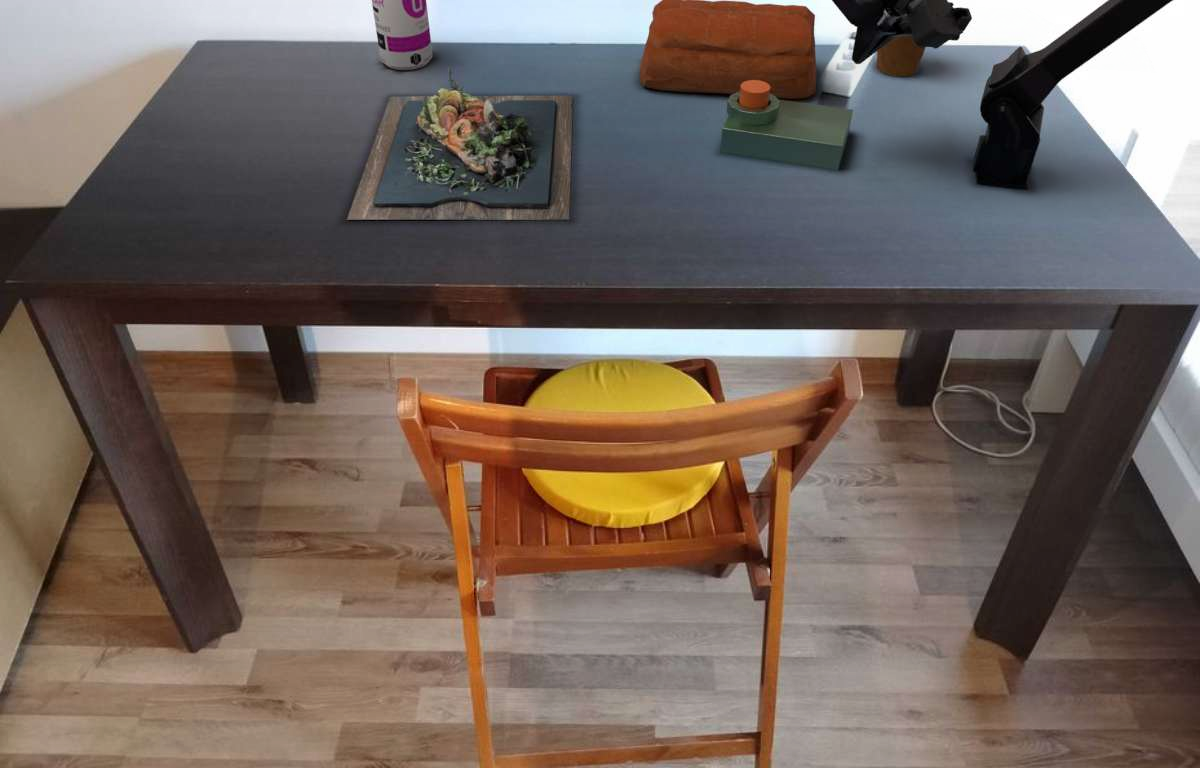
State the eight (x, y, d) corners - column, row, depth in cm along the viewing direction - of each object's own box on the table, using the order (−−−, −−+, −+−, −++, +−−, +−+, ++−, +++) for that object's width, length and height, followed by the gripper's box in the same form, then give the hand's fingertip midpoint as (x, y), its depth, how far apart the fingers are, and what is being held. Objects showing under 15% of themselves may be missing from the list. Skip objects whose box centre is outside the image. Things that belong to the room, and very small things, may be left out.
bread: (815, 105, 144) (826, 34, 137) (635, 93, 147) (637, 23, 140) (814, 62, 156) (824, -5, 149) (647, 52, 159) (649, -15, 152)
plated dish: (385, 96, 147) (379, 49, 142) (573, 97, 147) (572, 50, 142) (346, 225, 121) (336, 172, 116) (574, 225, 121) (574, 173, 117)
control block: (848, 133, 138) (855, 97, 134) (838, 171, 130) (844, 133, 126) (733, 117, 142) (737, 81, 138) (716, 152, 134) (720, 115, 130)
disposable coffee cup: (855, 60, 156) (868, -17, 148) (907, 53, 159) (924, -23, 151) (885, 84, 150) (901, 6, 142) (939, 76, 152) (958, -2, 144)
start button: (770, 99, 134) (772, 82, 133) (765, 112, 132) (767, 94, 130) (742, 95, 135) (743, 78, 134) (736, 108, 133) (737, 90, 131)
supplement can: (443, 57, 157) (433, -39, 147) (409, 76, 152) (396, -23, 142) (404, 46, 160) (391, -49, 151) (370, 64, 155) (354, -33, 145)
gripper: (920, -7, 107) (839, 104, 119) (1017, 5, 118) (935, 105, 129) (865, -70, 112) (792, 42, 123) (964, -53, 122) (888, 49, 134)
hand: (855, 61), depth 127 cm, fingers closed
